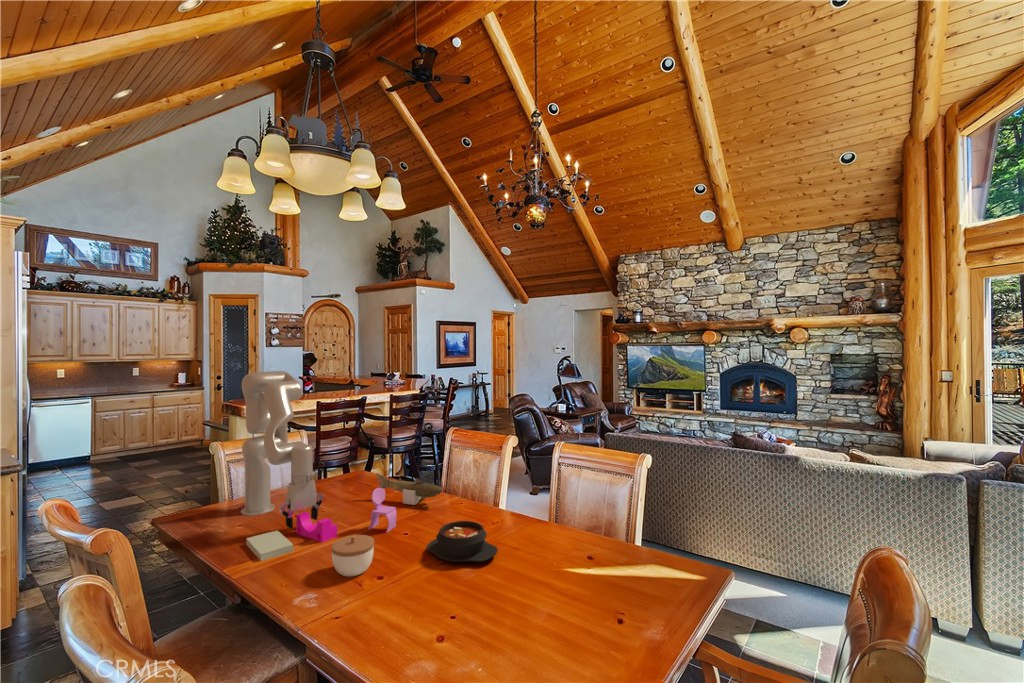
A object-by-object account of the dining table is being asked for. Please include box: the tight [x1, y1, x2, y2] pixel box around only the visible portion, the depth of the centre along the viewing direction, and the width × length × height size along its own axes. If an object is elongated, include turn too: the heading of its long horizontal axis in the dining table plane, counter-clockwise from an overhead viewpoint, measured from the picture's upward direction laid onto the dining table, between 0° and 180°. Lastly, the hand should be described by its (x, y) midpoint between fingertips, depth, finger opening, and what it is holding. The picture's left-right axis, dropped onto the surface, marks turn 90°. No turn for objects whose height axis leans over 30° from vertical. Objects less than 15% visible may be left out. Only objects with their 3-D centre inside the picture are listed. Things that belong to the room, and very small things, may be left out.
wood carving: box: [375, 472, 444, 506], centre depth 204 cm, size 9×35×11 cm, turn 68°
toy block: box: [295, 511, 338, 543], centre depth 168 cm, size 15×6×8 cm, turn 59°
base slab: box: [245, 529, 294, 562], centre depth 157 cm, size 17×10×4 cm, turn 44°
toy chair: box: [367, 487, 397, 533], centre depth 175 cm, size 8×9×15 cm
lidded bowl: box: [330, 534, 375, 578], centre depth 141 cm, size 13×13×11 cm
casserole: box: [426, 520, 499, 563], centre depth 153 cm, size 25×19×8 cm
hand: (302, 523), depth 173 cm, fingers open, 9 cm apart
